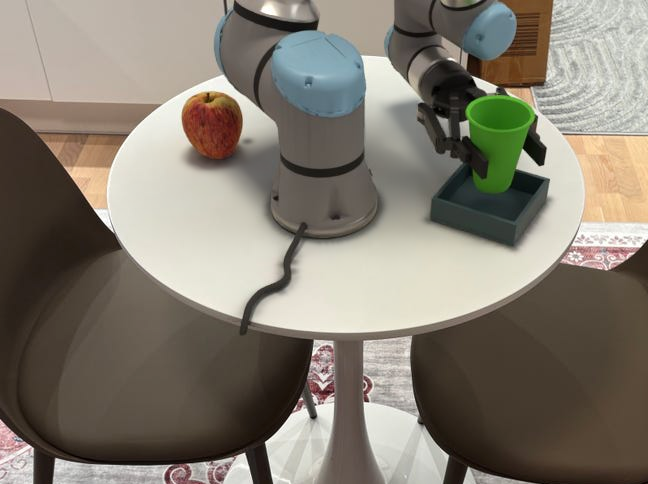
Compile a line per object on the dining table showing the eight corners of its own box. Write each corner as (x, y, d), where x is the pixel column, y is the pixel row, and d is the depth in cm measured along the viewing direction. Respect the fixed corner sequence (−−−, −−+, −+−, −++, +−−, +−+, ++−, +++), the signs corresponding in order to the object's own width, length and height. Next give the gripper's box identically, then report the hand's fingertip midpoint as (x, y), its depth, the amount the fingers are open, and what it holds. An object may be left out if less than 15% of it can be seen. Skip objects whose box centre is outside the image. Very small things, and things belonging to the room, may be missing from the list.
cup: (449, 172, 120) (454, 101, 112) (507, 160, 122) (516, 90, 114) (475, 208, 114) (482, 135, 106) (535, 195, 116) (547, 123, 108)
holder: (513, 246, 115) (516, 225, 113) (429, 219, 120) (431, 198, 117) (546, 199, 123) (550, 178, 121) (467, 175, 127) (469, 154, 125)
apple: (184, 169, 128) (174, 109, 121) (190, 138, 135) (180, 79, 127) (244, 168, 129) (237, 108, 121) (247, 136, 135) (240, 77, 128)
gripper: (502, 94, 131) (578, 172, 116) (377, 120, 126) (440, 204, 111) (507, 47, 125) (588, 122, 111) (378, 72, 120) (444, 154, 106)
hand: (514, 163), depth 111 cm, fingers closed on cup, 8 cm apart
